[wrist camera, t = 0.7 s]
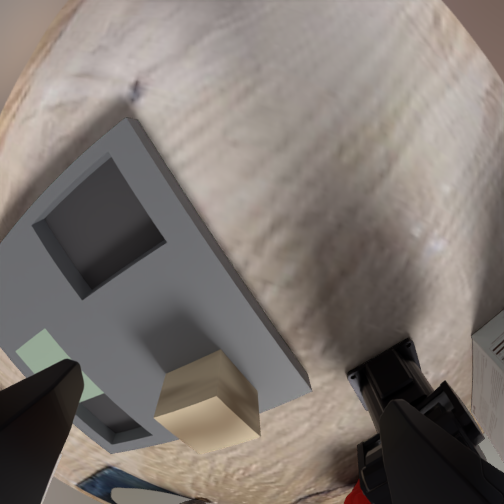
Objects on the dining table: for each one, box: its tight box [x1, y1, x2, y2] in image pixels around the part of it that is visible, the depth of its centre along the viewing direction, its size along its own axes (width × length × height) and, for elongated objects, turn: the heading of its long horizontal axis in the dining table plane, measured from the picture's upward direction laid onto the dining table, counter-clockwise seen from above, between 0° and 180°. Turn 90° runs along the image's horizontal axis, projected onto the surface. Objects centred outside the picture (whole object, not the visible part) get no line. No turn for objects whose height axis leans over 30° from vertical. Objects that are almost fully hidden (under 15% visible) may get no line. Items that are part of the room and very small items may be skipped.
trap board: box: [0, 117, 312, 454], centre depth 21 cm, size 23×24×2 cm
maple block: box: [154, 349, 261, 454], centre depth 19 cm, size 5×5×4 cm
